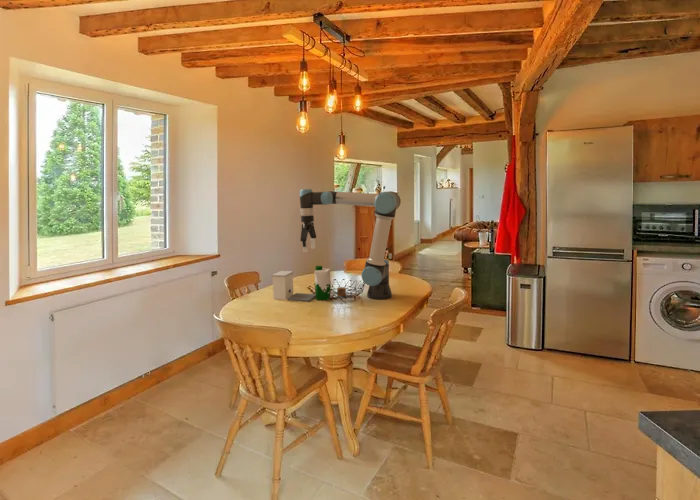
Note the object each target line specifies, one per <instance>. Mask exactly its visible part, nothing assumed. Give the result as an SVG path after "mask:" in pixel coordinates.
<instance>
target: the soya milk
mask: <svg viewBox="0 0 700 500" xmlns="http://www.w3.org/2000/svg"><path fill="white" fill-rule="evenodd" d="M331 288H332V286H331V268H323V266H322V265H316V266H315V270H314V291H315V292H314V294H316V297H315V300H316V301H328V300H329V299H330V298H331V293H332V292H331V290H332V289H331Z"/></svg>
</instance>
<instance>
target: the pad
mask: <svg viewBox="0 0 700 500" xmlns="http://www.w3.org/2000/svg"><path fill="white" fill-rule="evenodd" d="M293 294H294V295H292V296H291V297H289V298H288V299H286V300H287V301H292V302H307V303H309V302H311V301H313V300H314V298H315V299H316V294H315V293H301V292H296V293H293Z"/></svg>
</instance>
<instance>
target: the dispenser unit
mask: <svg viewBox="0 0 700 500" xmlns="http://www.w3.org/2000/svg"><path fill="white" fill-rule="evenodd" d="M293 274H294V271H292V270H279V271H278V272H276V273H273V274H271V277H272V292H273V294H272V295H273V296H272V297H273V300H281V301H282V300H284V301H285V300H287V299H288V298H289V297H291V296H292V295H294V294H295V293H294V275H293Z"/></svg>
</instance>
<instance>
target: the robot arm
mask: <svg viewBox="0 0 700 500" xmlns="http://www.w3.org/2000/svg"><path fill="white" fill-rule="evenodd" d="M401 203H402V202H401V197H400V195H399V193H397V192H395V191H393V190H392V191H391V190H390V191H380V192H378V193H371V192H370V193H366V192H350V191H349V192H348V191H334V190H333V191H332V190H328V191H313V189H312V188H304V189H302V188H301V189H300V190H299V204H300V209H299V211H300V215H301V216H300V221H301V223H303V224H301V231H300V242H301V243H302V244H301V245H302V253H308V241H307V239H308V235H309V236H310V238H309V239H310V249H311V250H316V239H317V233H316V230H315V229H316V228H315V224H314V221H315V220H314V219H315V217H314V216H315V215H314V206H323V205H325V206H326V205H346V206H347V205H348V206H362V207H365V206H366V207H374V216H375V217H376V218H375V223H374V224H375V225H374V230H373V234H372V239H371V240H372V241H371V246H370V250H369V256H368V258H367V259H365V264H364V268H363V269H362V271H361V280H362V282H363V283H364V284H366V285H367V286H368V290H367V292H366V296H367V298H369V299H373V300H388V299H391V298H392V296H393V293H392V292H393V291H392V289H391V287H390V263H389V262H390V261H389V260H388V259H385V256H386V251H387V245H388V241H389V234H390V231H391V230H390V229H391V225H392V221H393V219H395V217H396V212H397V209H399V208H400V206H401Z"/></svg>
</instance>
